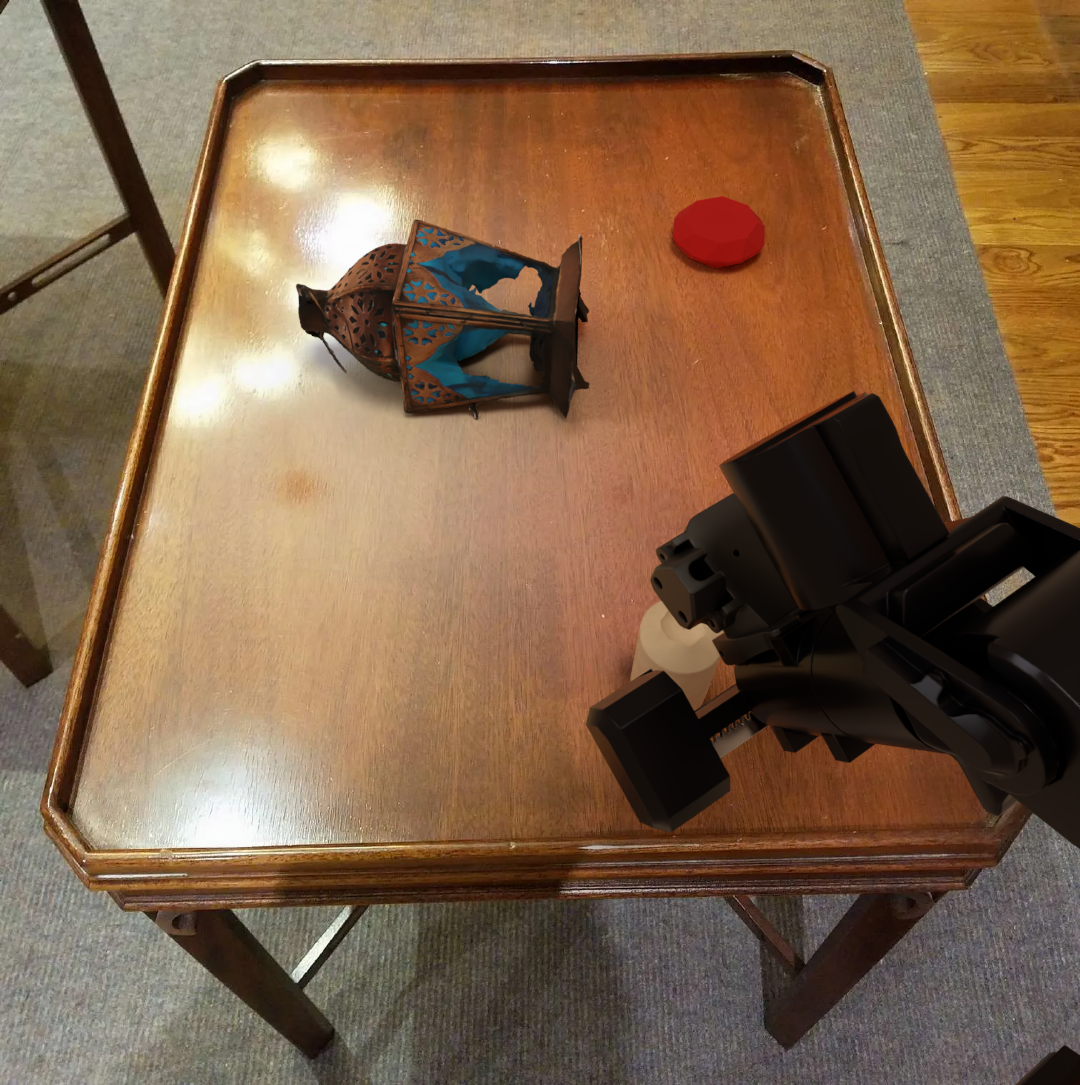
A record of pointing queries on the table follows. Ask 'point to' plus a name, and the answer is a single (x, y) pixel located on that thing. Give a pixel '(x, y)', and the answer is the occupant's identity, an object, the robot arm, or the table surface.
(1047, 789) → the robot arm
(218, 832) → the table surface
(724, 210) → the gemstone
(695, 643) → the candle
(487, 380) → the lantern
